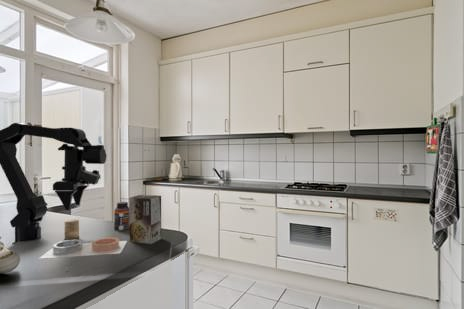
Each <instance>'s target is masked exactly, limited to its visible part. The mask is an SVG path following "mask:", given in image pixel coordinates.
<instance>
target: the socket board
mask: <svg viewBox="0 0 464 309" xmlns="http://www.w3.org/2000/svg"><path fill="white" fill-rule="evenodd" d="M92 243H93V242H85V243H84V242H82V249H81V250H80V251H77V252H75V253H70V254H63V255H58V254H54V253H53V247H52V248H50V249H49V250H48V251H47V252H46V253H44V254H43V255H42V256H40V257H39V258H38V260H42V259H44V260H45V259H55V258H58V259H59V258H71V257H72V258H73V257H86V256H88V257H89V256H102V255H114V254H115V255H118V254H121V253H122V251H123V249H124V248H125V246H126V244H127V243H128V240H119V247H118V248H117V249H114V250H111V251H107V252H95V251H93V250H92Z"/></svg>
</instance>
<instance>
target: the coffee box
mask: <svg viewBox="0 0 464 309" xmlns="http://www.w3.org/2000/svg"><path fill="white" fill-rule="evenodd" d="M128 205H129V206H128V207H129V218H130V230H129V242H132V243H140V244H147V245H152V244H154V243H156V242H158V241H160V240H162V195H151V194H150V195H149V194H138V195H134V196H132V197H131V196H130V197H129V198H128Z"/></svg>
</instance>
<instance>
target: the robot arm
mask: <svg viewBox="0 0 464 309" xmlns="http://www.w3.org/2000/svg"><path fill="white" fill-rule="evenodd" d="M25 136H31V137H40V138H47V139H53V140H55V141H57V142H58V141H59V142H60V143H63V144H62V145H61V146H59V147H58V148H57V150H58V151H64V160H63V161H64V166H61V170H63V171H64V172H63V174H64V176H63V178H61V180H57V181H55V182H54V183H52V191H54V193H55V194H56V195H57V197H58V198H59V200H60V202H61V204H62V206H63V207H64V209H65V211H70V210H71V206H72V200H73V202H74V203H75V205H76V206H79V205H81V201H82V198H83V197H82V196H83V194H84V191H85V190H86V189H87V188H89V187H90V185H97V184H99V181H100V180H101V174H100V171H99V170H97V169H93V170H92V171H90V170H86V166H85V165H84V162H85V164H88V165H89V164H90V165H91V164H92V165H93V164H94V165H102V164H103V165H104V164H105V163H106V161H107V156H108V155H107V153H106V149H105V145H104V144H97V145H94V144H93V145H92V144H91V142H90V141H89V140H88V138H87V134H86V132H85V131H84V130H83V129H80V128H76V127H58V128H56V127H55V128H54V127H53V128H52V127H46V126H38V125H33V124H27V123H22V122H14V123H11V124H10V125H8V126H7V127H4V128H3V129H0V167H1V169H2V172H3V173H4V175H5V177H6V179H7V182H8V183H9V185H10V187H11V190H12V191H13V193H14V196H15V197H16V200H17V201H16V207H15V209H16V212H17V214H16V215H15V216H14V217H13V218H12V219H10V221H9V223H10V226H11V227H12V228H14V241H13V242H12V243H11V245H12V246H13V245H14V244H17V243H18V242H29V241H35V240H39V239H41V238H42V227H41V226H40V222H42V220H43V218H44V216H45V215H46V214H47V211H48V207H47V206H48V203H47V202H46V201H45V198H44V196H43V194H41V195H40V194H39V195H37V194H36V193H34V191H33V189H32V187H31V184H29V181H28V179H27V177H26V175H25V173H24V170H23V168H22V167H21V165H20V163H19V161H18V159H17V152H18V150H17V148H18V147H17V146H16V145H17V144H19V143H20V142H21V141H22V140H23V138H24V137H25ZM81 148H82V149H81Z"/></svg>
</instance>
